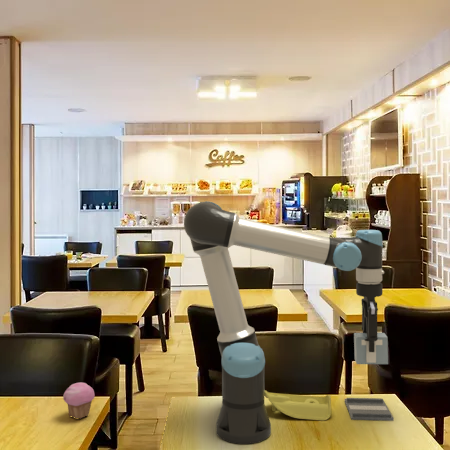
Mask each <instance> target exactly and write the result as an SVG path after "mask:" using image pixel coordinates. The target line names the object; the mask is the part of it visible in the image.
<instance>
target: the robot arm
mask: <svg viewBox="0 0 450 450" xmlns="http://www.w3.org/2000/svg"><path fill="white" fill-rule="evenodd" d="M183 228H184V231H185V233H186V235H187V236H188V237H189V240H190V242H191V243H190V244H191V246H192V251H193V253H195V254H196V255H199V257H200V260H201V264H202V268H203V272H204V275H205V280H206V284H207V287H208V291H209V294H210V297H211V302H212V305H213V309H214V310H213V311H214V313H215V317H216V321H217V325H218V330H219V331H220V332H219V334H218V336H217V338H216V339H217V343H218V345H217V346H218V348H219V352H220V356H221V384H222V385H221V390H222V391H221V397H222V401H221V402H222V403H221V407H220V411H219V413H218V417H217V420H216V425H215V426H216V427H215V430H216V431H215V432H216V435H217V437H218V438H219V439H221V440H224V441H225V442H228V443H233V444H240V445H249V444H251V445H252V444H256V443H259V442H263V441H264V440H267V439H268V438H269V437H270V436H271V434H272V433H271V432H272V425H271V421H270V418H269V417H270V416H269V415H268V411H267V408H266V404H265V396H264V390H265V365H266V358H265V352H264V351H263V348H261V346H260V345H259V342H258V338H257V334H256V331H255V328H254V327H252V326H250V325H249V324H248V321H247V316H246V311H245V309H244V304H243V301H242V297H241V294H240V290H239V286H238V282H237V279H236V278H237V277H236V275H235V270H234V266H233V263H232V259H231V255H230V251H229V248H231V247H232V246H236V247H241V248H245V249H250V250H254V251H259V252H263V253H264V252H265V253H269V254H273V255H278V256H283V257H289V258H293V259H297V260H302V261H305V262H311V263H316V264H320V265H324V266H328V267H332V268H337V269H338V270H341V271H345V272H351V271H353V270H355V280H356V287H355V288H356V289H355V291H356V292H355V293H356V295H357V296H359V297H363V298H361V300H360V301H361V330H362V333H367V339H365V341H366V362H367V363H376V341H377V339H378V338H377V333H378V311H379V309H378V302H377V301H376V298H377V297H381V296H383V283H382V281H383V275H384V274H385V271H384V270H383V250H384V249H383V247H384V245H383V234H382V232H381V231H380V230H378V229H377V230H376V229H359V230H357V231H356V232H355V236H352V237H351V236H350V237H328V236H323V235H319V234H314V233H309V232H303V231H300V230H296V229H292V228H287V227H282V226H278V225H273V224H269V223H264V222H260V221H255V220H250V219H247V218H241V217H239V215H238V214H237V213H236V212H232V211H227V210H225V209H222V207H221V206H219V204H216V203H215V202H213V201H200V202H198V203H195V204H193V206H191V207H190V208H189V209H188V210H187V211H186V213H185V216H184V219H183Z"/></svg>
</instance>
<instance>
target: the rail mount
mask: <svg viewBox="0 0 450 450" xmlns="http://www.w3.org/2000/svg"><path fill="white" fill-rule="evenodd" d="M344 403H345V406H346V408H347V411H348V414H349V417H350V419H351V420H352V421H353V420H354V421H355V420H357V421H383V422H384V421H389V422H394V418H395V417H394V416H393V414H392V413H391V410H390V409H389V407H388V405H387V403H386V401H385V400H384V399H383V398H382V397H381V398H378V397H377V398H372V397H371V398H369V397H368V398H367V397H346V398H344Z"/></svg>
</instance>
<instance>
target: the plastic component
mask: <svg viewBox="0 0 450 450" xmlns="http://www.w3.org/2000/svg"><path fill="white" fill-rule="evenodd" d="M264 398H267V399H268V401H269V402H270V404H271V412H278V413H279V412H281V413H282V414H284V415H286V416H289V417H291V418H294V419H300V420H312V421H327V420H329V418H330V417H331V414H332V399H331V398H332V397H331V395H330V394H327V395H325V396H318V395H317V396H315V395H313V396H312V395H303V394H302V395H300V394H289V393H278V392H277V393H276V392H269V391H267V390H265V389H264Z"/></svg>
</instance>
